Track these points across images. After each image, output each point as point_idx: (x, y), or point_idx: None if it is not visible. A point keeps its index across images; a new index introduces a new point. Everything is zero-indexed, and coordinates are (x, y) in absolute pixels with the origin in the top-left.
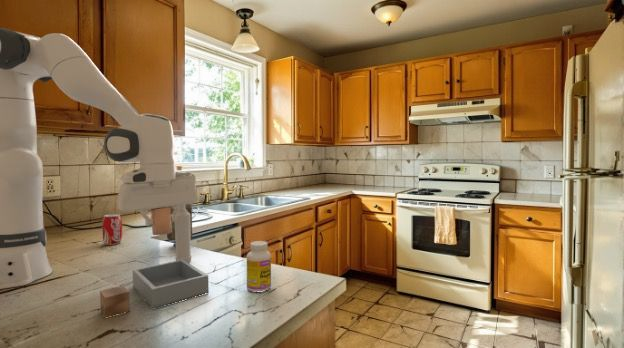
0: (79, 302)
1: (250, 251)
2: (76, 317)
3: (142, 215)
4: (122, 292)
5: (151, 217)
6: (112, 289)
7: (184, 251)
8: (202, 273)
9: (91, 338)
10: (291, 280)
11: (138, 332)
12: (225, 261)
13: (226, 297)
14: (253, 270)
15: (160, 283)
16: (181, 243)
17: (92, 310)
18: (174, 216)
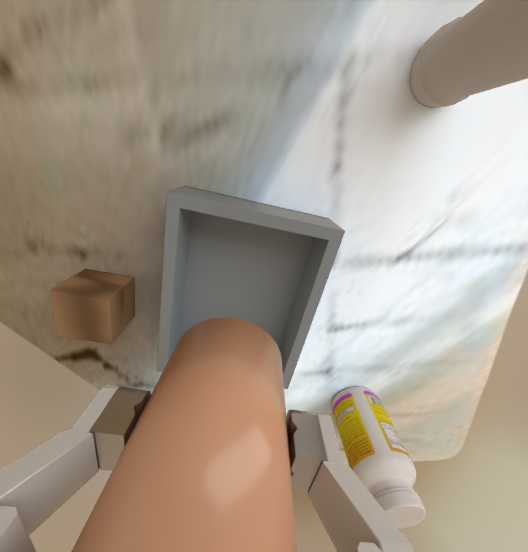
0: (41, 170)
1: (384, 474)
2: (36, 258)
3: (5, 480)
4: (97, 337)
5: (119, 457)
6: (79, 303)
7: (459, 89)
8: (288, 372)
9: (61, 353)
10: (416, 414)
11: (126, 384)
12: (494, 213)
13: (291, 387)
14: (345, 452)
15: (243, 239)
16: (487, 65)
17: (69, 250)
18: (305, 484)
